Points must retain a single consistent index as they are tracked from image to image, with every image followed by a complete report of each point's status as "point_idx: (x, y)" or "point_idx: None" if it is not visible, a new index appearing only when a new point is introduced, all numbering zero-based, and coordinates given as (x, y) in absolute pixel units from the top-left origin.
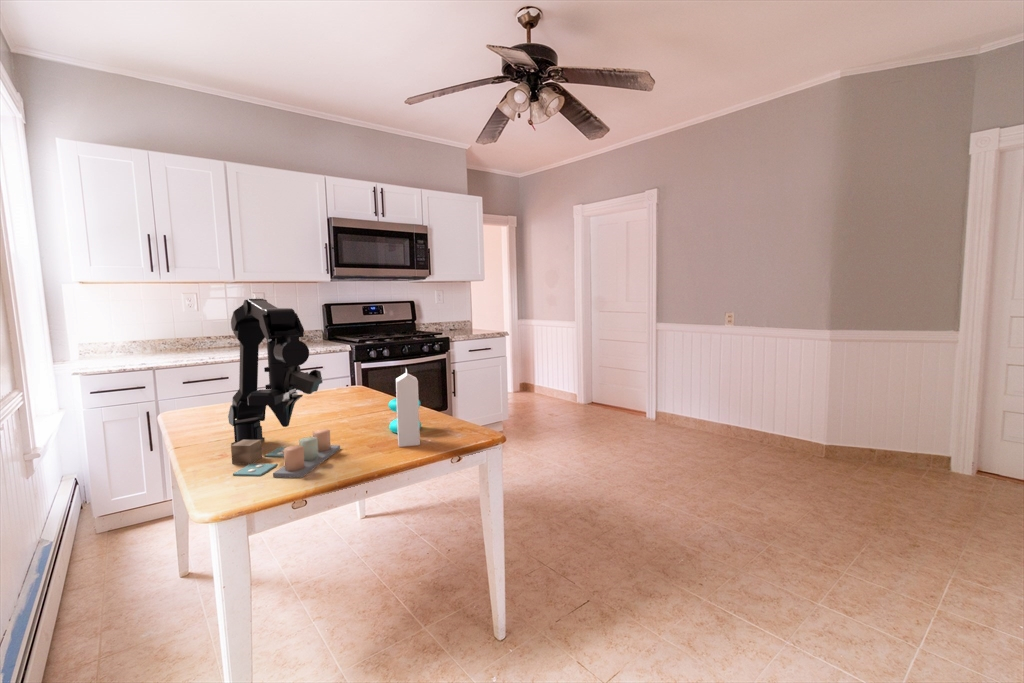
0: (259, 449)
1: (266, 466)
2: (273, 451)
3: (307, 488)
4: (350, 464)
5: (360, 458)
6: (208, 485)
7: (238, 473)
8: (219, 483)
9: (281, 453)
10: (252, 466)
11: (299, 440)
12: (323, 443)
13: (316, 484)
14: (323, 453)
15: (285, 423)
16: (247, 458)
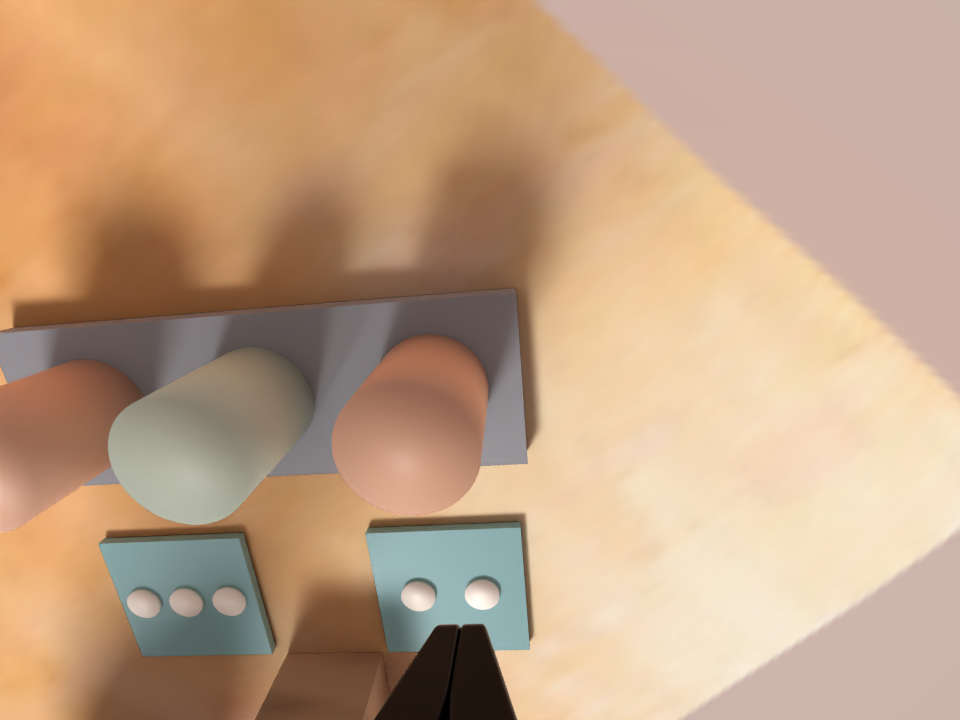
0: (284, 702)
1: (410, 562)
2: (212, 648)
3: (674, 140)
4: (232, 77)
5: (105, 65)
6: (652, 665)
7: (522, 629)
8: (627, 638)
9: (229, 595)
10: (425, 623)
11: (226, 513)
12: (80, 397)
13: (607, 117)
14: (160, 356)
15: (498, 674)
16: (376, 691)
